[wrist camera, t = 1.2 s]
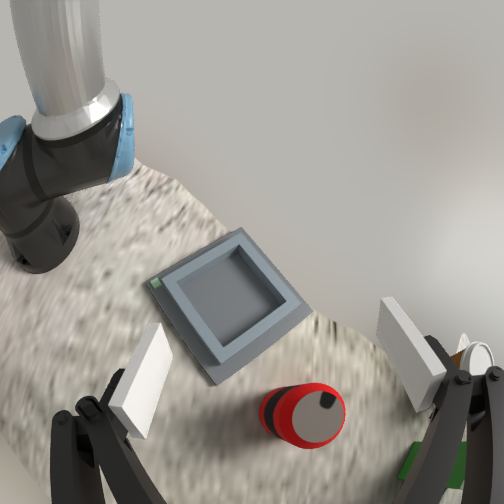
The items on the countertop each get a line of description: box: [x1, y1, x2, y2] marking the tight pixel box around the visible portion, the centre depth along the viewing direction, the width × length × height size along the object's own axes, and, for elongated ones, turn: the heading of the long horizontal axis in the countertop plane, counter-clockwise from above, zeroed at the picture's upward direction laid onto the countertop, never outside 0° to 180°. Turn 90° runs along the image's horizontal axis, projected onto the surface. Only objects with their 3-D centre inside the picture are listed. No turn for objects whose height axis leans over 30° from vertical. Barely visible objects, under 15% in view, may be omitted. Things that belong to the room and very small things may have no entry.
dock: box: [146, 227, 313, 385], centre depth 39 cm, size 18×18×4 cm
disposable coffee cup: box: [450, 342, 494, 375], centre depth 33 cm, size 10×10×12 cm
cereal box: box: [397, 441, 467, 490], centre depth 19 cm, size 18×7×24 cm, turn 59°
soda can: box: [259, 383, 346, 449], centre depth 28 cm, size 8×8×12 cm
